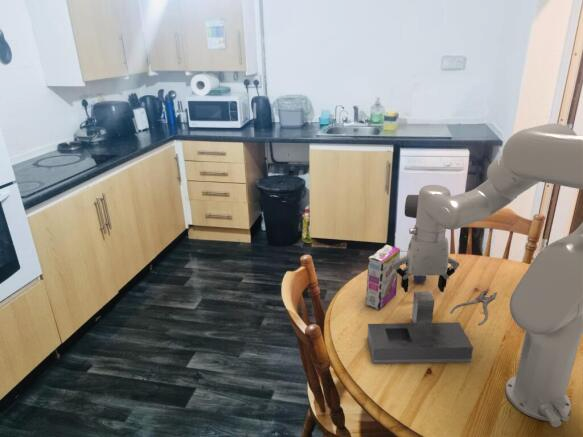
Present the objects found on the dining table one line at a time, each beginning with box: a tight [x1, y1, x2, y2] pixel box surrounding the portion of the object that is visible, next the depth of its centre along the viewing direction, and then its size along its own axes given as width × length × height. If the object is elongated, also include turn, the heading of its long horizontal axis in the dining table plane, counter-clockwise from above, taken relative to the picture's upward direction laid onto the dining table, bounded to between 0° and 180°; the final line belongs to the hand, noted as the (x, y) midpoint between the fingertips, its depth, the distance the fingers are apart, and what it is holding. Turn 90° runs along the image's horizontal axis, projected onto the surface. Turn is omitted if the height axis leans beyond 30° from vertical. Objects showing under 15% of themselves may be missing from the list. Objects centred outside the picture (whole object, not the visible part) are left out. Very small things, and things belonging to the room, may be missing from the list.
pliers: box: [449, 288, 498, 326], centre depth 130 cm, size 10×1×20 cm
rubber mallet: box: [404, 194, 427, 285], centre depth 136 cm, size 12×8×30 cm, turn 68°
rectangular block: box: [366, 321, 474, 364], centre depth 111 cm, size 10×24×4 cm, turn 89°
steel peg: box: [411, 291, 435, 323], centre depth 120 cm, size 4×4×9 cm
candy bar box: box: [365, 244, 401, 311], centre depth 130 cm, size 11×5×16 cm, turn 141°
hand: (422, 289), depth 118 cm, fingers open, 9 cm apart
